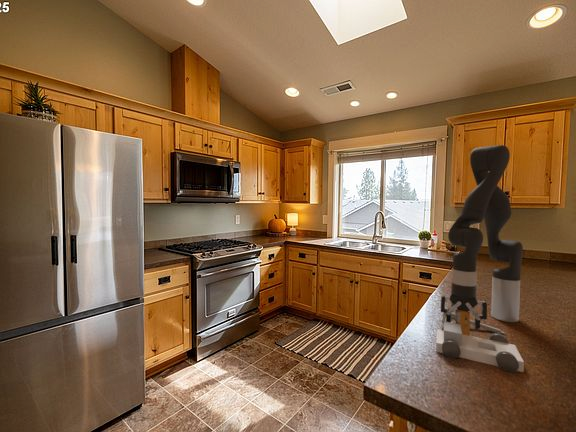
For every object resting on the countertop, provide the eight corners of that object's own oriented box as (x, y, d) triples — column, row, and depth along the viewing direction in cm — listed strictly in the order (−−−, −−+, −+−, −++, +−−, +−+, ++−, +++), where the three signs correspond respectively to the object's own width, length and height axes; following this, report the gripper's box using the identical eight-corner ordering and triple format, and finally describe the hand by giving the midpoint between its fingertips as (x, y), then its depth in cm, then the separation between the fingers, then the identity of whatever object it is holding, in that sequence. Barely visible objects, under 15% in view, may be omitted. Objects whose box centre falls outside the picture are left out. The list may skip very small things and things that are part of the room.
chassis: (436, 335, 100) (437, 316, 100) (512, 351, 89) (513, 330, 89) (436, 354, 87) (436, 333, 87) (525, 376, 76) (526, 351, 76)
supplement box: (463, 335, 100) (464, 308, 100) (469, 339, 97) (470, 312, 96) (454, 335, 100) (455, 308, 99) (460, 339, 96) (461, 312, 96)
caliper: (442, 323, 110) (442, 308, 110) (442, 322, 111) (442, 307, 111) (505, 335, 101) (506, 318, 100) (504, 334, 102) (505, 317, 101)
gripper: (486, 282, 97) (485, 327, 98) (440, 277, 104) (439, 318, 105) (489, 288, 91) (488, 335, 91) (440, 282, 98) (439, 326, 98)
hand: (462, 326), depth 98 cm, fingers open, 7 cm apart
